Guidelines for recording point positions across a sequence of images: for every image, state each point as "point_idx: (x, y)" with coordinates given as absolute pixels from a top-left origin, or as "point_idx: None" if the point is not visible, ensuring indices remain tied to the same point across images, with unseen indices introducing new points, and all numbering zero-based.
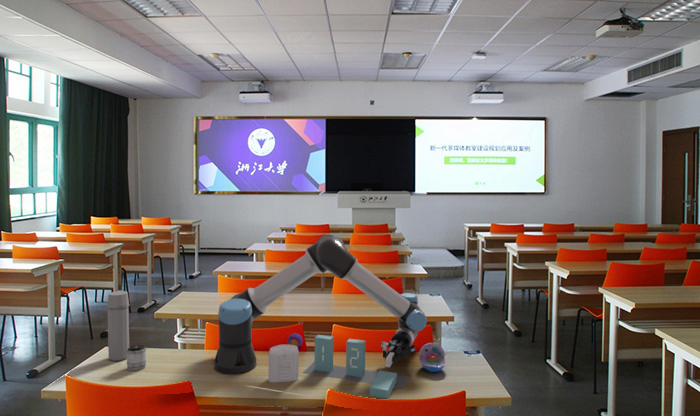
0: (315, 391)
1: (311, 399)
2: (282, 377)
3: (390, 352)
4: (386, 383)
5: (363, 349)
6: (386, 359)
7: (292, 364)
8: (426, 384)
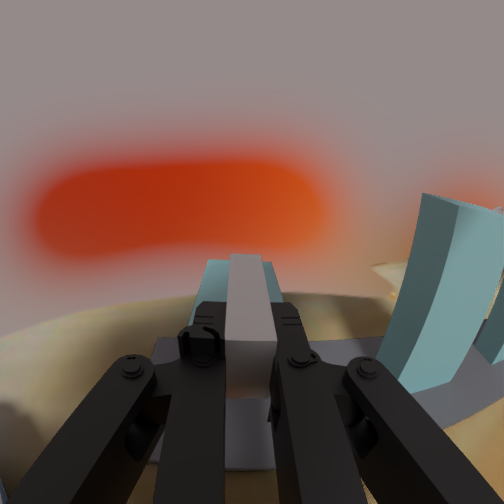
0: (401, 280)
1: (377, 263)
2: None
3: (270, 337)
4: (221, 276)
5: (422, 238)
6: (254, 257)
7: None
8: (48, 386)
